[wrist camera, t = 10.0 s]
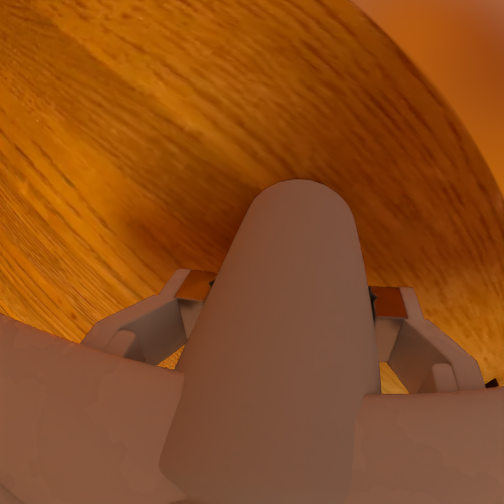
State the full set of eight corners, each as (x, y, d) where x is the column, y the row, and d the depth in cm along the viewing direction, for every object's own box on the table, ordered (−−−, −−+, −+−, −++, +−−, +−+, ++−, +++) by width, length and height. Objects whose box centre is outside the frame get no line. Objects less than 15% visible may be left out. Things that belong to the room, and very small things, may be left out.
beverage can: (374, 206, 12) (439, 530, 2) (321, 285, 15) (297, 548, 5) (272, 155, 12) (116, 491, 2) (232, 245, 15) (119, 504, 5)
